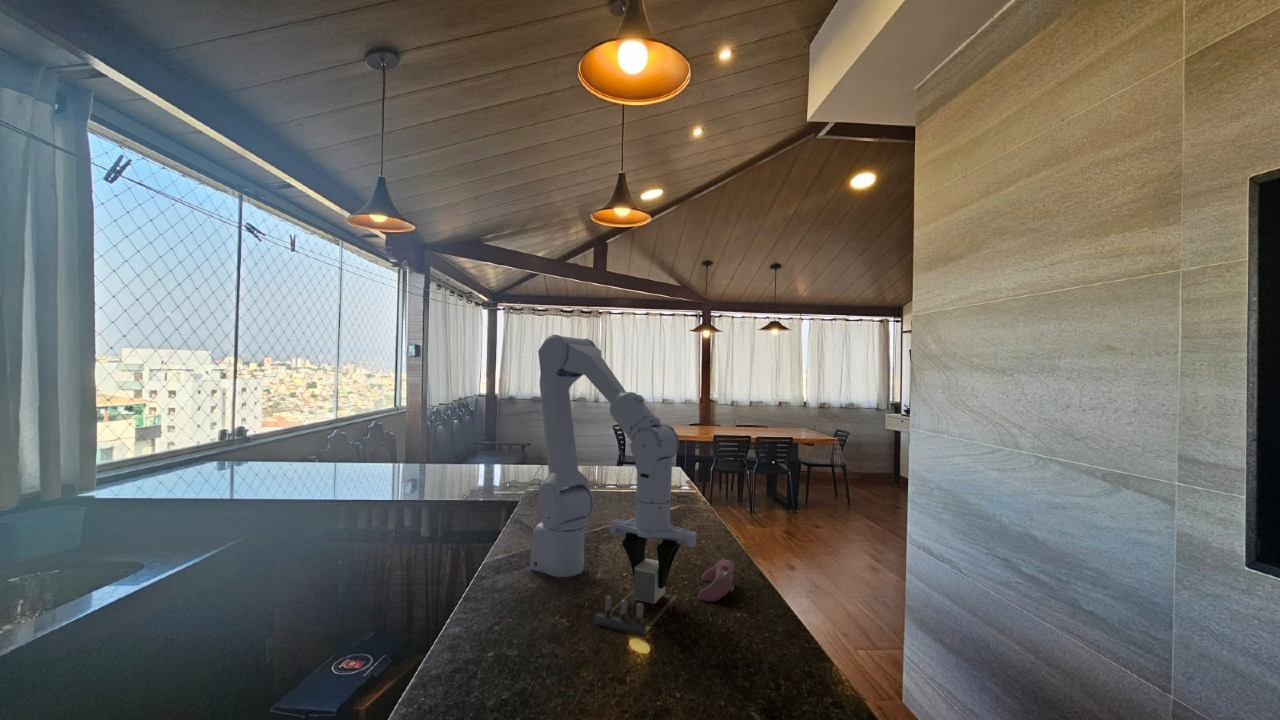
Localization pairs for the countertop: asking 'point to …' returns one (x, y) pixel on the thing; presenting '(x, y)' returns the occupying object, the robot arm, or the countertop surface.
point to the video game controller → (717, 581)
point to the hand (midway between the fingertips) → (650, 583)
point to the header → (622, 618)
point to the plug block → (647, 582)
